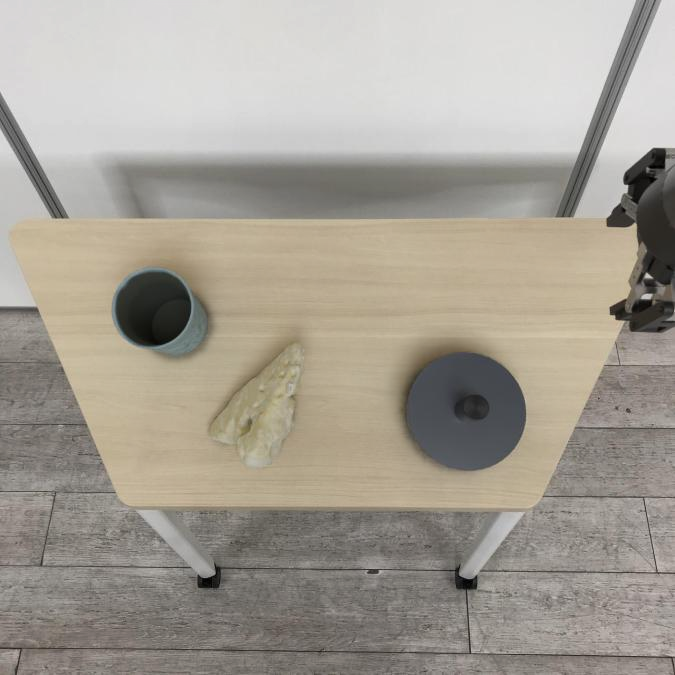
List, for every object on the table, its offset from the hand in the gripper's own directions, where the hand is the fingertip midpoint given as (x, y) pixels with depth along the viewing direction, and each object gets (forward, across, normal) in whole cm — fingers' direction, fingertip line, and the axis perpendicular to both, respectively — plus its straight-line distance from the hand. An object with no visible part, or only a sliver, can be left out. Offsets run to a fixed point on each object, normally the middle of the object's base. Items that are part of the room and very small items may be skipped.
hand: (618, 267), depth 57 cm
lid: (+22, -12, +10) cm, 27 cm away
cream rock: (+28, -12, +36) cm, 47 cm away
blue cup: (+28, -2, +49) cm, 57 cm away
